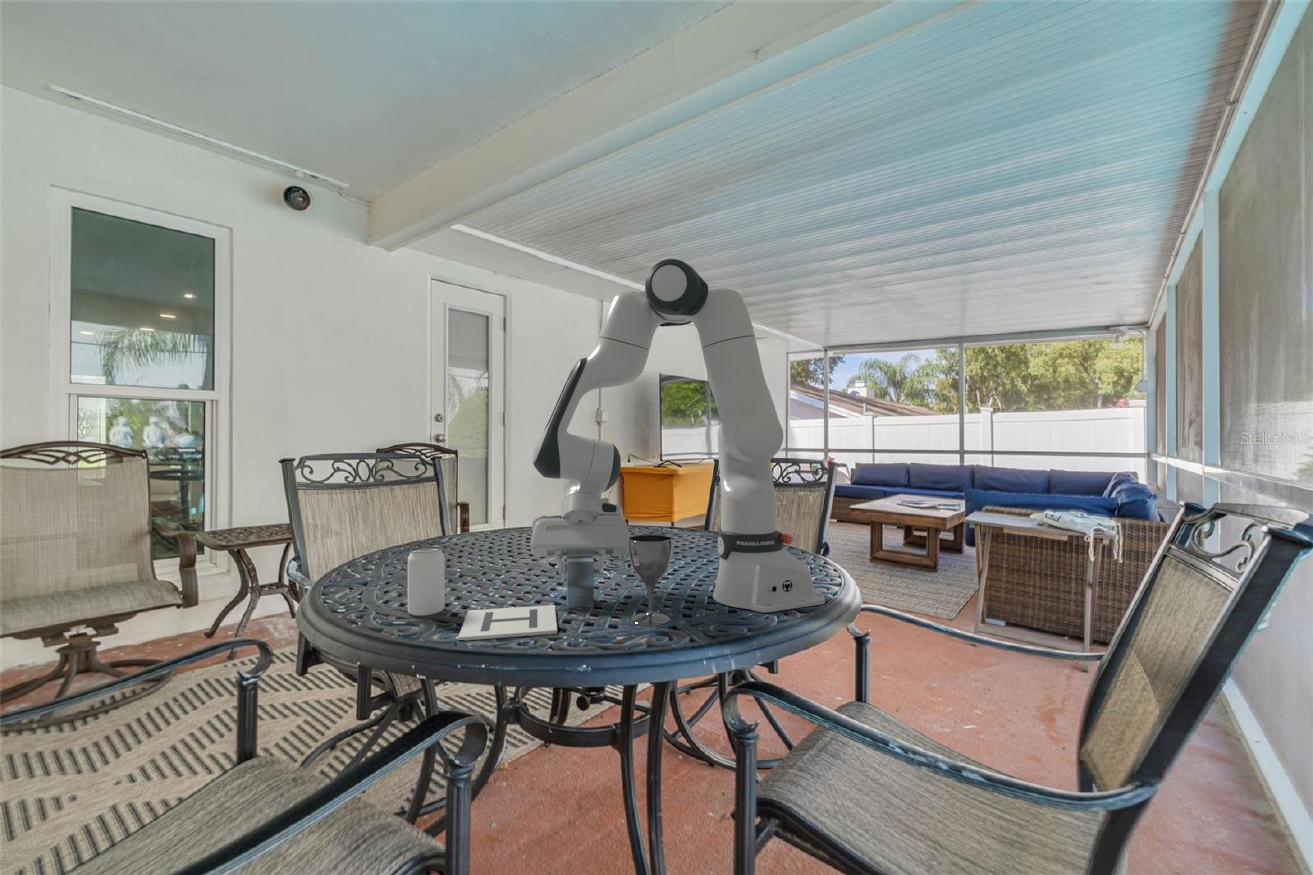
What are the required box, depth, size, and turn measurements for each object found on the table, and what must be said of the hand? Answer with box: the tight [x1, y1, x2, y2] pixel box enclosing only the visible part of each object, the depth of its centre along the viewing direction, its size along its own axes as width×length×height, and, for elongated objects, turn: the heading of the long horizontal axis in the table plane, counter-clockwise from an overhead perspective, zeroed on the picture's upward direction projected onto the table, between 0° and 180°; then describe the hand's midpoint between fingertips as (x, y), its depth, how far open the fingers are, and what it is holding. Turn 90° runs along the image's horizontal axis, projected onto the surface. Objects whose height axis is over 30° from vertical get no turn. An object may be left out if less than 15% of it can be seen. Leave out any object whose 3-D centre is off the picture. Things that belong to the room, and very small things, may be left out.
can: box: [407, 545, 445, 617], centre depth 106 cm, size 6×6×12 cm
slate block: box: [566, 555, 595, 609], centre depth 112 cm, size 5×5×9 cm
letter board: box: [457, 604, 558, 641], centre depth 100 cm, size 16×14×1 cm
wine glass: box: [628, 533, 673, 627], centre depth 102 cm, size 8×8×15 cm
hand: (579, 572), depth 111 cm, fingers closed on slate block, 5 cm apart
